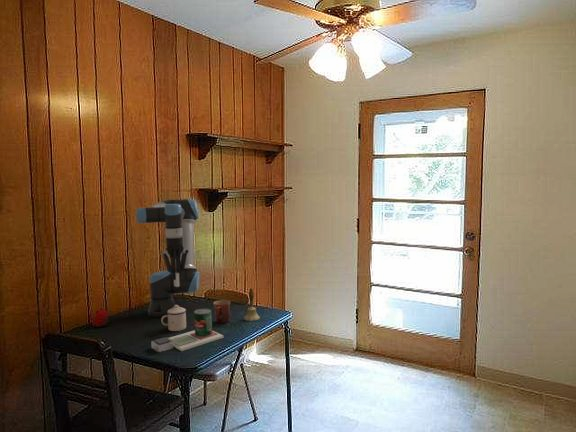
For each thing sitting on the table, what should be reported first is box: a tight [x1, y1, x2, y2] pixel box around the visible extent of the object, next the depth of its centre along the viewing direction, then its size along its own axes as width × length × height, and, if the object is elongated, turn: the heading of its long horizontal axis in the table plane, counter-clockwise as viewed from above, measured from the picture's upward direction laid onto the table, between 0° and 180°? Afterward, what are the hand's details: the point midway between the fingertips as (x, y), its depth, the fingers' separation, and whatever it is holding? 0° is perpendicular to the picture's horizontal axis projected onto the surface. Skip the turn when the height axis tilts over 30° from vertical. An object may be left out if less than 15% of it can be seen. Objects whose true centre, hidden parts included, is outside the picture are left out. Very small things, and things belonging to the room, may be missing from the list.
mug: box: [212, 299, 231, 325], centre depth 211 cm, size 12×9×10 cm
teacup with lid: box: [160, 304, 187, 332], centre depth 204 cm, size 12×9×12 cm
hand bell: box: [243, 288, 261, 322], centre depth 217 cm, size 8×8×16 cm
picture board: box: [168, 329, 224, 352], centre depth 189 cm, size 16×22×1 cm
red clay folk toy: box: [92, 297, 109, 328], centre depth 211 cm, size 8×7×15 cm
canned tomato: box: [193, 308, 213, 337], centre depth 192 cm, size 8×8×11 cm
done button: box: [153, 337, 171, 345], centre depth 180 cm, size 5×5×3 cm
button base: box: [150, 337, 175, 353], centre depth 180 cm, size 7×7×3 cm
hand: (176, 286), depth 196 cm, fingers closed
